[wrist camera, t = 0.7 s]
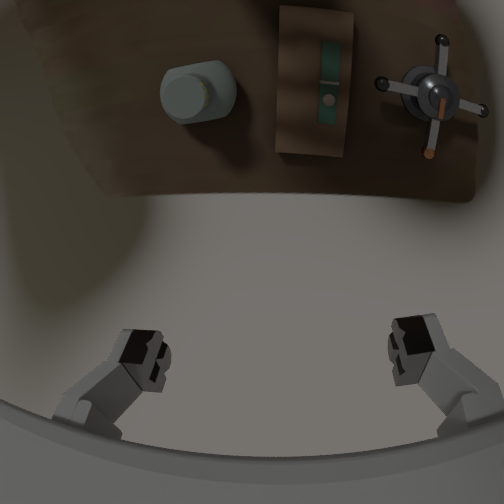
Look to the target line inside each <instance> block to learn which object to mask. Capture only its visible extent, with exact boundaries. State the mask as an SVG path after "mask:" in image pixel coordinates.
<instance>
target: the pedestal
mask: <svg viewBox="0 0 504 504" xmlns="http://www.w3.org/2000/svg"><path fill="white" fill-rule="evenodd" d="M424 72H430V73H434V68H433V67H430V66H417V67H414V68H412V69H410V70H409V71H408V72H407V73H406V74H405V76H404V77H403V80H402V83H403V84H408V85H411V83H412V81H413V79H414V78H415V77H416V76H417V75H419V74H421V73H424ZM435 74H436V73H435ZM401 98H402V101H403V103H404V105H405V107H406V109H407V110H408V111H409V112H410V113H411V114H412V115H413V116H415V117H416V118H418V119H421V120H423V121H428V116H426V115H424V114H422V113H420V112H419V111H418V110H417V109H416V108H415V107H414V106H413V104H412V102H411V99H410V95H409V94H404V93H401Z"/></svg>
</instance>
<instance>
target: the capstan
mask: <svg viewBox="0 0 504 504" xmlns="http://www.w3.org/2000/svg"><path fill="white" fill-rule="evenodd" d="M435 42H436V50H435V64H434V73H430V72H424V73H421V74H419V75H417V76H416V77H415V78H414V79H413V81H412V83H411V85H408V84H403V83H399V82H394V81H389V80H388V79H387V78H386V77H382V76H381V77H378V78H376V80H375V87H376V88H377V89H378V90H379V91H382V92H385V91H387V90H390V91H395V92H399V93H404V94H409V95H410V99H411V102H412V104H413V106H414V107H415V108H416V109H417V110H418V111H419V112H420V113H422V114H424V115H426V116H428V122H427V128H426V134H425V140H424V145H423V148H422V150H421V153H422V156H423V157H424V158H425V159H428V160H429V159H432V158H433V157H434V156H435V147H436V142H437V136H438V131H439V125H440V121H445V120H448V119H450V118H452V117H453V116H454V115H455V114H456V112H457V110H458V108H461V109H465V110H468V111H471V112H474V113H477V114H478V115H479V116H480V117H482V118H485V117H487V116H488V113H489V111H488V108H487V107H486V106H485V105H484V104H479V105H477V104H474V103H471V102H468V101H465V100H462V99H460V96H459V91H458V89H457V87H456V85H455V84H454V82H453V81H452V80H451V79H450V78H448V77H446V71H447V59H448V46H449V39H448V38H447V37H446V36H445V35H443V34H439V35H437V36H436V37H435ZM435 73H436V74H435Z"/></svg>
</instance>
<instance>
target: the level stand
mask: <svg viewBox="0 0 504 504" xmlns="http://www.w3.org/2000/svg"><path fill="white" fill-rule="evenodd" d="M353 27H354V13H350V12H344V11H337V10H329V9H321V8H312V7H300V6H285V5H280V11H279V54H278V86H277V115H276V140H275V152H281V153H296V154H309V155H321V156H332V157H342V158H343V152H344V143H345V134H346V125H347V115H348V105H349V93H350V81H351V66H352V50H353Z"/></svg>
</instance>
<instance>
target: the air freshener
mask: <svg viewBox="0 0 504 504" xmlns="http://www.w3.org/2000/svg"><path fill="white" fill-rule="evenodd" d="M236 95H237V87H236V82H235V79H234V76H233V74H232V72H231V71H230V70H229V68H228V67H227V66H226V65H225V64H223V63H222V62H221V61H219V60H216V61H209V62H203V63H197V64H192V65H187V66H182V67H178V68H174V69H170V70H168V71H167V73H166V74H165V76H164V78H163V80H162V83H161V89H160V98H161V103H162V105H163V108H164V110H165V111H166V113H167V114H168V116H169V117H170V118H171V119H172V120H174V121H175V122H176V123H178V124H188V123H196V122H202V121H208V120H213V119H218V118H222V117H225V116H227V115H228V114H229V113H230V111H231V109H232V108H233V106H234V103H235V100H236Z"/></svg>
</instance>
